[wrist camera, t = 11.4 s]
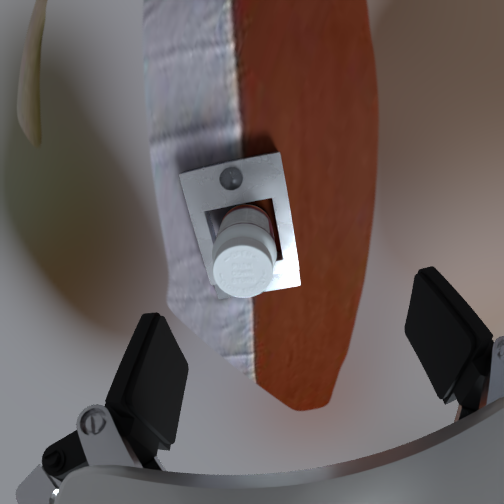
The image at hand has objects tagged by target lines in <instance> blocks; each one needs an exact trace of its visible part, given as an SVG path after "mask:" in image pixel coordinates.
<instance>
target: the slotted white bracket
mask: <svg viewBox="0 0 504 504" xmlns="http://www.w3.org/2000/svg"><path fill="white" fill-rule="evenodd" d="M179 177H180V181H181V185H182V189H183V192H184V196H185V200H186V203H187V207H188V210H189V214H190V217H191V221H192V224H193V228H194V231H195V235H196V238H197V241H198V245H199V248H200V251H201V255H202V258H203V261H204V264H205V267H206V271H207V274H208V277H209V280H210V283H211V285H214V287H215V290H216V293H217V296H218V299H223V298H229V297H235V296H231V295H229V294H227V293H225V292H224V291H223V290H222V289H220V288H219V286H218V285H217V284H216V282H215V280H214V277H213V271H212V269H213V259H212V249H213V245H214V242H215V240H216V236H215V232H214V228H213V225H212V221H211V217H210V213H209V210H214V209H218V208H223V207H228V206H233V205H237V204H242V203H247V202H253V201H258V200H263V199H268V198H272V202H273V207H274V212H275V218H276V223H277V229H278V234H279V240H280V245H281V252H277V258H276V263H275V266H274V268H273V277H272V280H271V282H270V284H269V286H268V287H267V288H266V289H265V290H264V291H263V292H266V291H272V290H277V289H283V288H288V287H294V286H299V285H301V284H300V277H299V264H298V257H297V250H296V243H295V237H294V230H293V224H292V218H291V212H290V206H289V200H288V194H287V188H286V183H285V177H284V172H283V166H282V161H281V156H280V152H279V151H275V152H270V153H264V154H259V155H254V156H249V157H244V158H239V159H234V160H230V161H225V162H221V163H216V164H212V165H208V166H204V167H200V168H196V169H192V170H188V171H184V172H182V173H181V174H179ZM263 292H261V293H263ZM261 293H260V294H261Z"/></svg>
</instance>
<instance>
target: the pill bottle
mask: <svg viewBox="0 0 504 504" xmlns="http://www.w3.org/2000/svg"><path fill="white" fill-rule="evenodd" d="M276 258H277V250H276V245H275V240H274V234H273V227H272V223H271V220H270V218H269V216H268V215H267V214H266V212H265V211H264V210H262V209H261V208H259V207H257V206H254V205H250V204H243V205H238V206H236V207H234V208H232V209H231V210H229V211H228V212H227V213H226V215H225V216H224V218H223V220H222V223H221V225H220V228H219V231H218V234H217V237H216V240H215V242H214V245H213V249H212V259H213V269H212V271H213V277H214V280H215V282H216V284H217V285H218V286H219V288H220V289H222V290H223V291H224V292H225V293H227V294H229V295H231V296H235V297H240V298H247V297H253V296H256V295H258V294H260V293H261V292H263V291H264V290H265V289H266V288H267V287H268V286H269V284H270V282H271V280H272V277H273V268H274V266H275V263H276Z"/></svg>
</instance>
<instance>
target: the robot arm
mask: <svg viewBox="0 0 504 504" xmlns="http://www.w3.org/2000/svg"><path fill="white" fill-rule="evenodd" d="M405 334H406V336H407V338H408V339H409V341H410V343H411V345H412V347H413V349H414V351H415V352H416V354H417V356H418V358H419V360H420V362H421V363H422V365H423V367H424V369H425V371H426V373H427V375H428V377H429V379H430V381H431V383H432V385H433V387H434V389H435V392H436V393H437V396H438V397H439V398H440V399H443V401H444V403H445V404H448V403H450V402H452V401H454V400H456V399H457V401H458V403H459V405H458V410H457V413H456V416H455V420H454V423H453V424H451V425H448V426H446V427H444V428H442V429H440V430H438V431H436V432H433V433H431V434H429V435H427V436H424V437H422V438H419V439H417V440H414V441H412V442H409V443H407V444H404V445H401V446H398V447H396V448H393V449H390V450H387V451H384V452H380V453H377V454H374V455H370V456H367V457H363V458H359V459H356V460H351V461H347V462H343V463H338V464H334V465H329V466H324V467H318V468H312V469H306V470H299V471H290V472H282V473H271V474H256V475H255V474H254V475H205V474H190V473H178V472H168V471H166V470H165V468H164V467H163V465H162V464H161V462H160V460H159V459H158V457H157V450H158V449H161V450H170V445H171V444H173V443H174V442H175V438H176V433H177V427H178V422H179V416H180V411H181V405H182V400H183V395H184V390H185V385H186V380H187V375H188V363H187V361H186V359H185V357H184V355H183V353H182V352H181V350H180V348H179V346H178V344H177V342H176V340H175V338H174V336H173V334H172V332H171V330H170V327H169V325H168V323H167V321H166V319H165V317H164V316H160V314H159V313H146V314H143V315H142V316H141V319H140V321H139V323H138V325H137V327H136V329H135V331H134V334H133V336H132V338H131V340H130V343H129V345H128V347H127V349H126V351H125V354H124V356H123V358H122V361H121V363H120V365H119V368H118V370H117V373H116V375H115V378H114V380H113V383H112V385H111V387H110V390H109V392H108V395H107V398H106V400H105V401H106V404H105V406H102V405H98V404H97V405H91V406H89V407H87V408H85V409H84V410H83V411H82V412H81V413H80V415H79V417H78V419H77V424H76V425H77V430H76V431H74V432H73V433H71V434H69V435H67V436H66V437H64V438H62V439H61V440H59V441H57V442H55V443H54V444H52V445H51V446H49V447H48V448H47V449H46V450H45V452H44V454H43V456H42V465H43V466H42V465H40V464H39V465H38V466H37V467H36V468H35V469H34V470H33V471H32V472H31V474H30V475H28V477H27V478H26V479H25V480H24V481H23V482H22V483H21V484H20V485H19V486H18V488H17V490H16V499H17V502H18V504H504V336H502V337H499V338H497V339H496V340H495V342H493V340H492V337H493V334H492V333H491V332H490V330H489V329H488V328H487V327H486V325H485V324H484V323H483V322H482V320H481V319H480V318H479V317H478V315H477V314H476V313H475V312H474V311H473V309H472V308H471V307H470V306H469V305H468V304H467V302H466V301H465V300H464V299H463V298H462V297H461V295H459V293H458V292H457V291H456V290H455V289H454V288H453V287H452V285H450V283H449V282H448V281H447V280H446V279H445V278H444V277H443V276H442V275H441V274H440V273H439V272H438V271H437V270H436V268H434V267H427V268H423V269H420V270H419V271H418V274H416V275H415V278H414V283H413V289H412V294H411V300H410V305H409V310H408V315H407V319H406V323H405Z"/></svg>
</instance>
